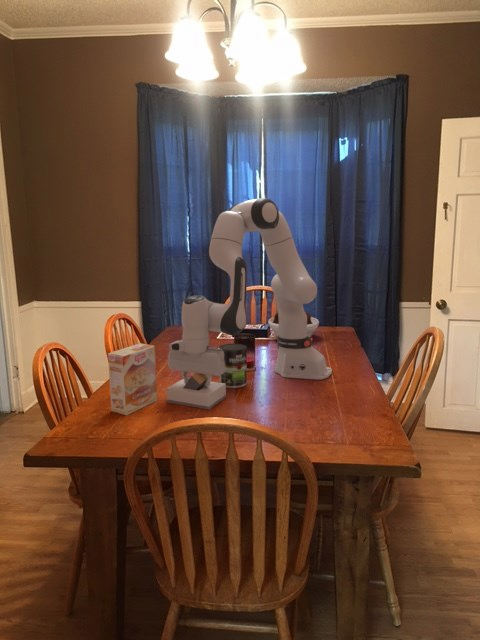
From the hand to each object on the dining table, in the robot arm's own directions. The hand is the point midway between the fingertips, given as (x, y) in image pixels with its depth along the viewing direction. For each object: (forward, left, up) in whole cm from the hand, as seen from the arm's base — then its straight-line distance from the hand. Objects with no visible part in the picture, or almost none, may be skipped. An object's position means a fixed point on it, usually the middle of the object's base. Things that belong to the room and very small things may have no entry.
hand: (197, 384), depth 171 cm
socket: (0, 0, -6) cm, 6 cm away
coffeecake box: (+16, +13, -6) cm, 22 cm away
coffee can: (-4, -20, -6) cm, 21 cm away
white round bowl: (-2, -92, -6) cm, 92 cm away
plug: (+2, 0, -2) cm, 2 cm away
